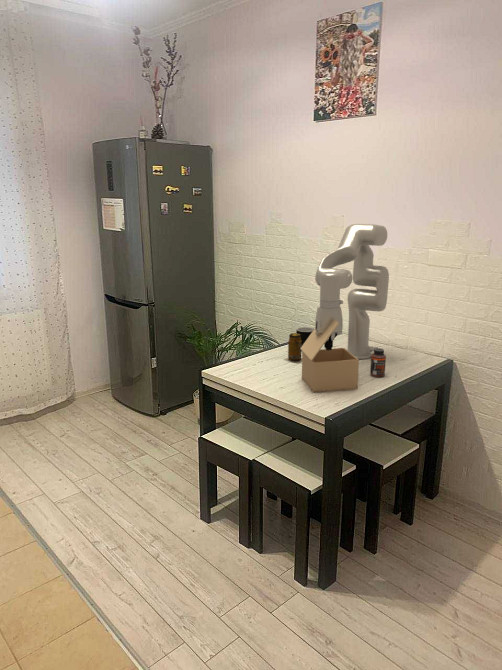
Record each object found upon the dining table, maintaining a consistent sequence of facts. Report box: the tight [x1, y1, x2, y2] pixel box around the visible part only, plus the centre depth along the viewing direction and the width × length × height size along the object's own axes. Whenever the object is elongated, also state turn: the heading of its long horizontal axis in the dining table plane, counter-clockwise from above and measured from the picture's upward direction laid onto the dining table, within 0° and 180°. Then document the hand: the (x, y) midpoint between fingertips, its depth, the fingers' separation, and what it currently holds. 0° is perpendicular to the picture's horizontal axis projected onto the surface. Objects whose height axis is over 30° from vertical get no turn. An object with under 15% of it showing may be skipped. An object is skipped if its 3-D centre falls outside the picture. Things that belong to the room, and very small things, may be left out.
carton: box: [301, 347, 360, 393], centre depth 205 cm, size 18×16×12 cm
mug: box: [295, 326, 315, 352], centre depth 252 cm, size 12×9×10 cm
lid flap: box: [300, 320, 339, 360], centre depth 200 cm, size 18×15×1 cm
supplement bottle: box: [369, 347, 387, 378], centre depth 214 cm, size 6×6×11 cm
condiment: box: [284, 332, 302, 364], centre depth 234 cm, size 7×8×12 cm
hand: (328, 349), depth 203 cm, fingers closed
